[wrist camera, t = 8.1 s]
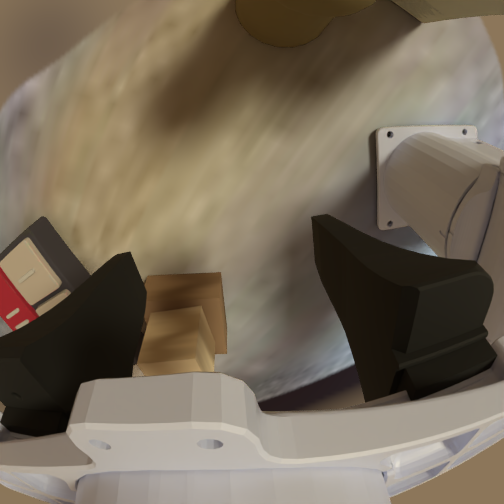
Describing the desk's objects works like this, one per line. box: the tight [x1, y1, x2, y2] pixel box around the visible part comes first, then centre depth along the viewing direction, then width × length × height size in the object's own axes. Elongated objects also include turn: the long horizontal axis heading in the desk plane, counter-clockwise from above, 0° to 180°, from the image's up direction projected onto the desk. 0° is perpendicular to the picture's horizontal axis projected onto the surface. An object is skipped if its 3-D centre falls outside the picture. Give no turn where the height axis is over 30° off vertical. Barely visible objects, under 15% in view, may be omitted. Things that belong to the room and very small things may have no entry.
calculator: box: [0, 217, 144, 365], centre depth 25 cm, size 11×4×15 cm
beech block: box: [137, 306, 215, 376], centre depth 22 cm, size 4×4×5 cm
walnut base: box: [144, 272, 227, 354], centre depth 25 cm, size 6×6×4 cm
